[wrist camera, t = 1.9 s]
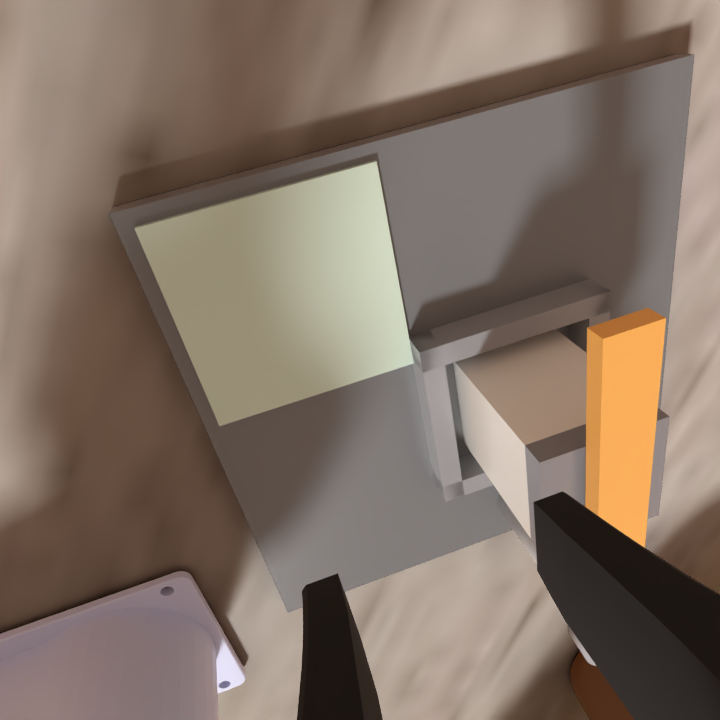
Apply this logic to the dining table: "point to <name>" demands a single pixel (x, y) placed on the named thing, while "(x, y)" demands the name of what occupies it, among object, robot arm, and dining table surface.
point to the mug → (596, 692)
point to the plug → (535, 422)
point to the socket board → (404, 304)
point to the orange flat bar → (622, 421)
